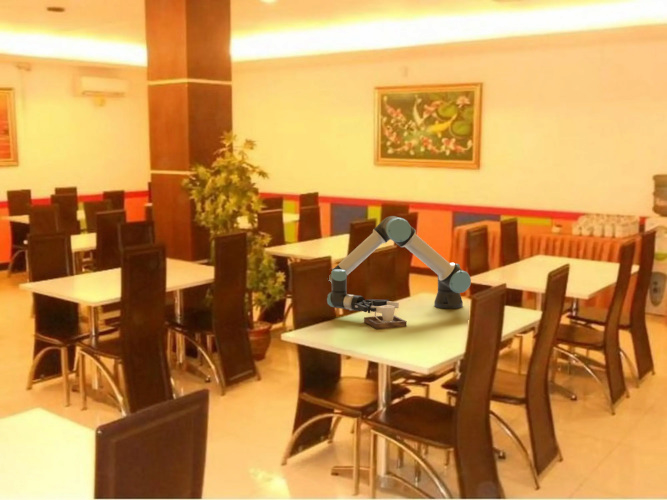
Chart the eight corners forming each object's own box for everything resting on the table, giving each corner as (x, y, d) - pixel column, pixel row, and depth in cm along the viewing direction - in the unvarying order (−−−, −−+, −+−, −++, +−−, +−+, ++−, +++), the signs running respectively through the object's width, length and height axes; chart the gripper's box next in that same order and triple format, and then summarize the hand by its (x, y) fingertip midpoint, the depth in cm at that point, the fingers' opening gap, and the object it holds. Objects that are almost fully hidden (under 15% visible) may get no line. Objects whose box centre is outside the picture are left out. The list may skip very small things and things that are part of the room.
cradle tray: (392, 319, 353) (392, 314, 353) (406, 326, 339) (406, 321, 339) (364, 322, 348) (364, 317, 348) (377, 329, 334) (377, 324, 333)
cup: (393, 325, 338) (393, 308, 337) (373, 323, 341) (373, 307, 340) (396, 321, 345) (396, 305, 344) (376, 320, 348) (376, 304, 347)
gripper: (369, 305, 364) (404, 310, 351) (339, 314, 344) (375, 320, 331) (369, 291, 363) (404, 295, 350) (339, 299, 343) (375, 304, 330)
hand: (390, 307), depth 340 cm, fingers open, 13 cm apart
